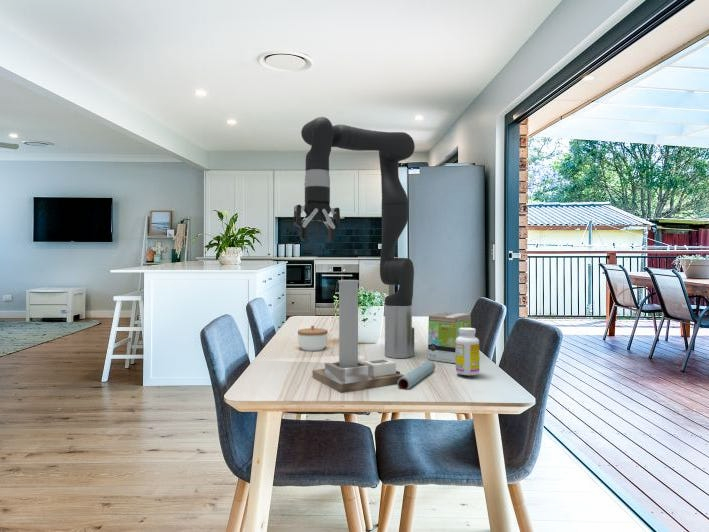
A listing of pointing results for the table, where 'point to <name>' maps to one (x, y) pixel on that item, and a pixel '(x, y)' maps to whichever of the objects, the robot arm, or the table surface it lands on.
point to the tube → (348, 323)
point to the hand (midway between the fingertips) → (317, 241)
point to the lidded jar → (312, 338)
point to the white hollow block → (382, 367)
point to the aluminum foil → (416, 375)
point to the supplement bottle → (467, 352)
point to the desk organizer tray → (353, 377)
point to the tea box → (445, 335)
